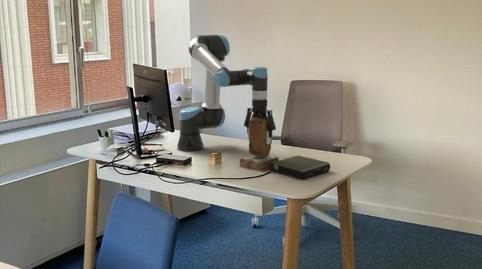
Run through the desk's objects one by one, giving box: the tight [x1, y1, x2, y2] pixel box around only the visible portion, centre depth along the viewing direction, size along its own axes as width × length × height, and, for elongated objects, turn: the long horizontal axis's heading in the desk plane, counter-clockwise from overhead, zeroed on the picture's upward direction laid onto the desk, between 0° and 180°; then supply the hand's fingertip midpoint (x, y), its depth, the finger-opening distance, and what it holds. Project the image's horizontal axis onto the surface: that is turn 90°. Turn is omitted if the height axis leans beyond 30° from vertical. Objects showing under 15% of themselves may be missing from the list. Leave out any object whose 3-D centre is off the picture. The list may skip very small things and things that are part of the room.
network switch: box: [270, 155, 331, 181], centre depth 258 cm, size 23×23×5 cm
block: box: [248, 116, 272, 157], centre depth 266 cm, size 11×8×20 cm
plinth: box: [239, 154, 279, 172], centre depth 268 cm, size 14×14×4 cm
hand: (259, 142), depth 266 cm, fingers closed on block, 11 cm apart
